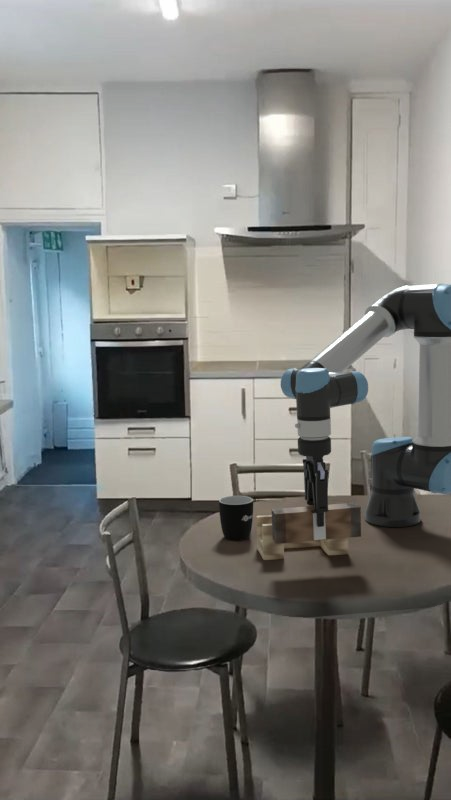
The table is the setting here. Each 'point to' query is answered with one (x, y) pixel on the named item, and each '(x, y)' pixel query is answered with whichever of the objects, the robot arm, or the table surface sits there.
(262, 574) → the table surface
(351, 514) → the brown rectangular block
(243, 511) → the mug
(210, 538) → the table surface
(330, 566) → the table surface
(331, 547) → the posts
